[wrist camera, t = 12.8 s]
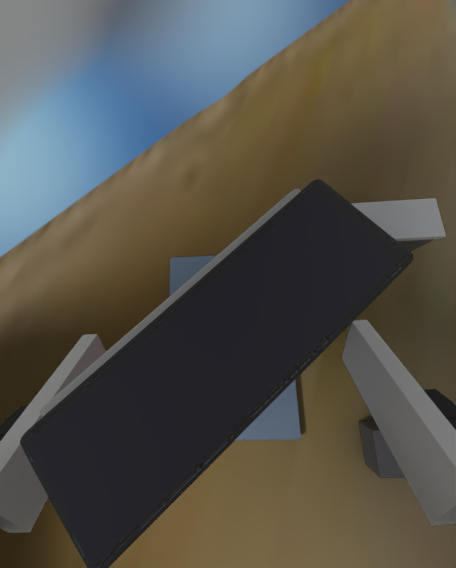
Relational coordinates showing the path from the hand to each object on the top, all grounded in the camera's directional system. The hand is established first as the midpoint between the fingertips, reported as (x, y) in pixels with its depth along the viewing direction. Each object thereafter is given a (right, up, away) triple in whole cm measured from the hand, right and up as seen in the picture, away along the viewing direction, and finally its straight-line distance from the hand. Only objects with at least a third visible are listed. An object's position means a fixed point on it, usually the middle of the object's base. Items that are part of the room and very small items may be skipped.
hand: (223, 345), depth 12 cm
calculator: (+1, -2, +8) cm, 9 cm away
